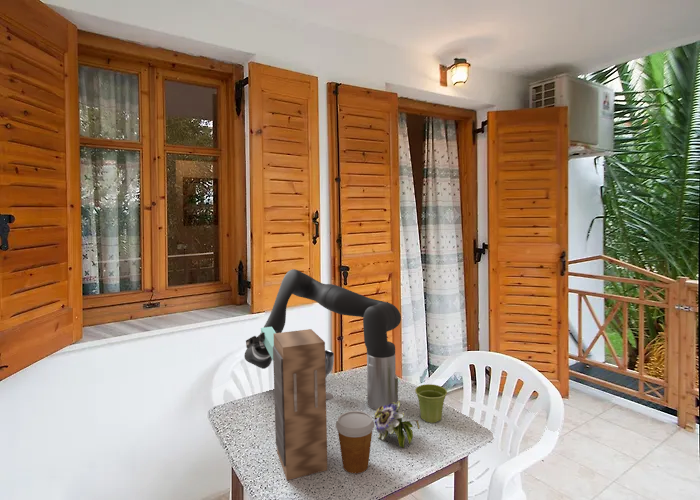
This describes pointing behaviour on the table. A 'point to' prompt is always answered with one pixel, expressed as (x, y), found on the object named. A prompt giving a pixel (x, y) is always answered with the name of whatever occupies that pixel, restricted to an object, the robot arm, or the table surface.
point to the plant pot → (431, 401)
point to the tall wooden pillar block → (300, 402)
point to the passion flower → (393, 423)
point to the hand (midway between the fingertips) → (270, 334)
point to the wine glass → (329, 368)
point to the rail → (269, 339)
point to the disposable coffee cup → (355, 440)
